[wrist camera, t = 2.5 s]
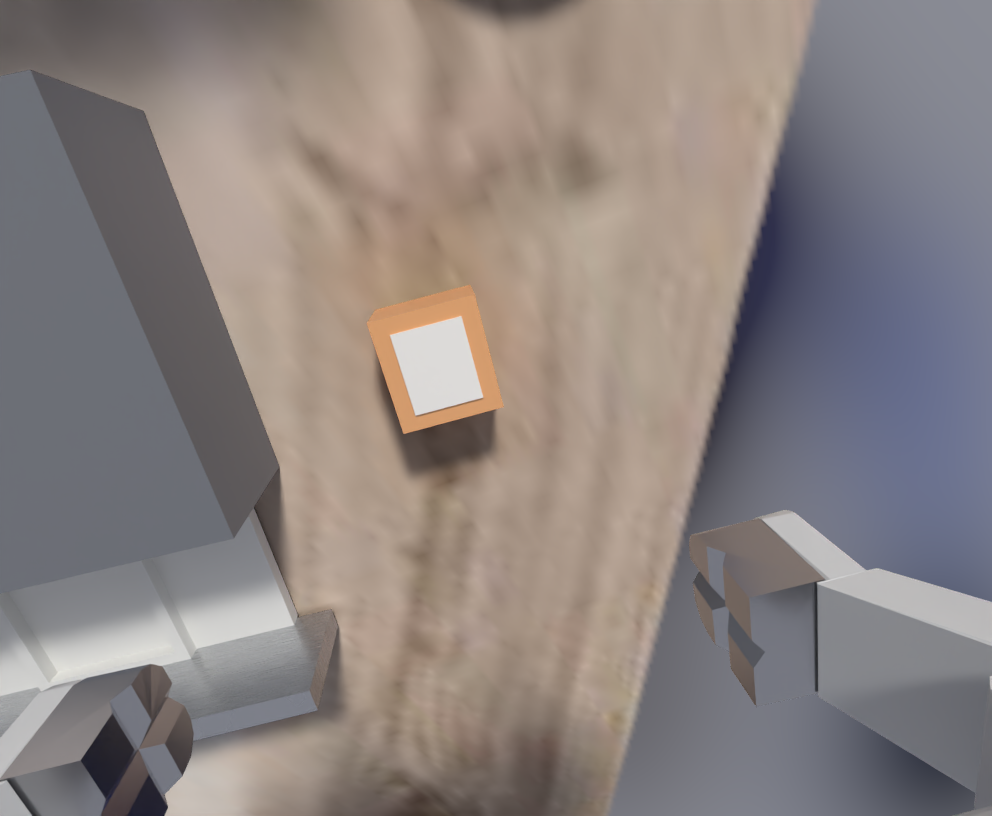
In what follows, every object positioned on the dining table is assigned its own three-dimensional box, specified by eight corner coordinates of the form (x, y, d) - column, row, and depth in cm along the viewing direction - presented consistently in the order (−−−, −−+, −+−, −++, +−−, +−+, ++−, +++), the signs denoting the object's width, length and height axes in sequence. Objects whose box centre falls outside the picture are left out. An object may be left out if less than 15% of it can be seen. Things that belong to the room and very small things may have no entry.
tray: (-252, 462, 25) (-444, 530, 19) (234, 351, 25) (179, 387, 20) (-59, 720, 30) (-168, 829, 25) (338, 624, 31) (317, 710, 25)
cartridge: (375, 309, 26) (366, 323, 22) (469, 284, 26) (474, 294, 22) (407, 407, 27) (403, 434, 24) (495, 384, 27) (504, 407, 24)
